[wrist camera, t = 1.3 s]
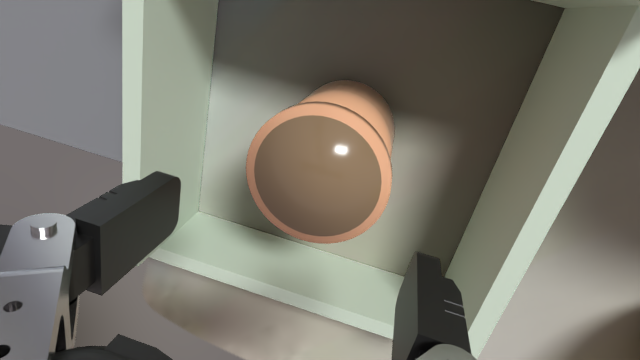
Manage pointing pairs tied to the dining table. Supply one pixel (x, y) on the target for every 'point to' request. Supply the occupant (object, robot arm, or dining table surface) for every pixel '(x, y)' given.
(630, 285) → the dining table surface
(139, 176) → the pale green open box
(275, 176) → the terracotta pot
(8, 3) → the slate board
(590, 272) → the dining table surface
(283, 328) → the dining table surface
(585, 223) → the dining table surface
